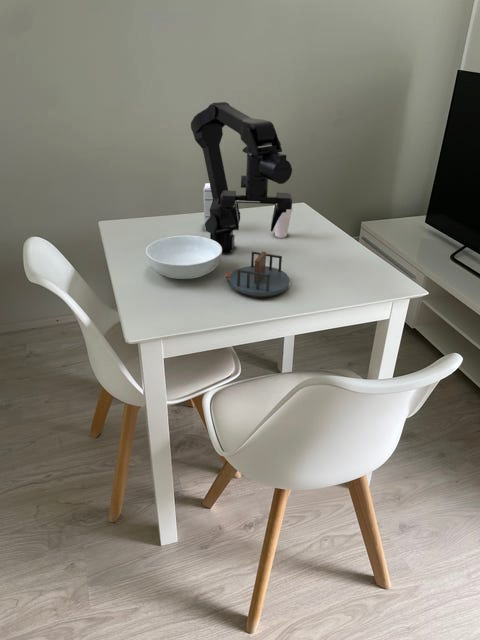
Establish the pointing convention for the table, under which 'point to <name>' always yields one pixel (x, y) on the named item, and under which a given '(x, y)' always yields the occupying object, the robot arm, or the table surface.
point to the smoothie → (283, 224)
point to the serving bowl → (184, 256)
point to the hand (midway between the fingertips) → (254, 230)
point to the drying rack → (260, 277)
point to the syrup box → (207, 202)
